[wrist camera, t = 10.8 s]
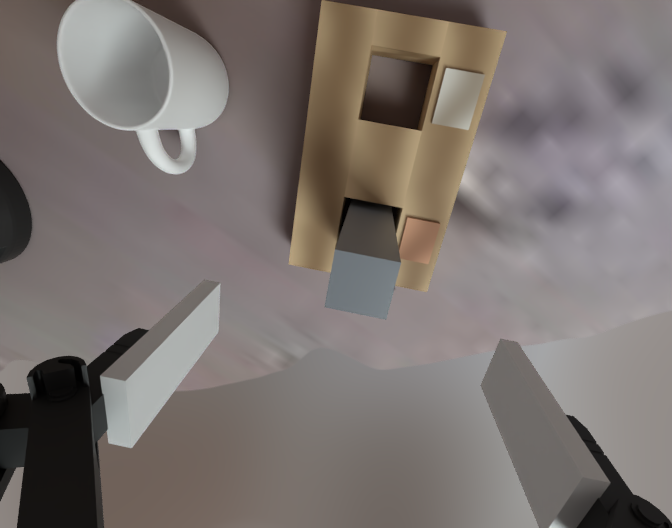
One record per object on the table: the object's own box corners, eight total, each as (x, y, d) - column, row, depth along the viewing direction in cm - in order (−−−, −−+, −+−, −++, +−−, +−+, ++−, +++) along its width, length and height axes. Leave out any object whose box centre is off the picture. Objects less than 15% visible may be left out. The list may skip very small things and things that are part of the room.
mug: (243, 166, 35) (193, 181, 26) (167, 168, 36) (93, 183, 27) (224, 28, 31) (156, -16, 21) (139, 35, 32) (37, -4, 22)
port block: (297, 250, 38) (287, 265, 34) (328, 15, 30) (321, -2, 26) (421, 275, 38) (427, 293, 34) (490, 43, 29) (508, 30, 25)
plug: (345, 234, 37) (324, 307, 22) (352, 197, 35) (334, 249, 20) (382, 241, 37) (386, 319, 22) (390, 205, 35) (401, 262, 20)
